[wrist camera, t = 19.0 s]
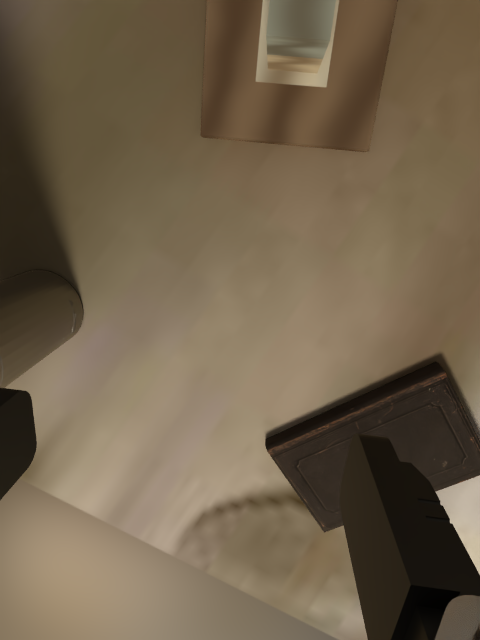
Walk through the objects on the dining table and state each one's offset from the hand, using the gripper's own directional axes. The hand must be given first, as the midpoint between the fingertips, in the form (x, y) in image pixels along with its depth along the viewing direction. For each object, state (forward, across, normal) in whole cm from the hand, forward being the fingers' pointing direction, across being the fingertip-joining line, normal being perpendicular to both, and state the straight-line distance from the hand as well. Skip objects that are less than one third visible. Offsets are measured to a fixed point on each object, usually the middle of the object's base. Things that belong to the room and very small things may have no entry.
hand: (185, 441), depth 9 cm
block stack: (+31, -2, -18) cm, 36 cm away
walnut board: (+33, -2, -18) cm, 38 cm away
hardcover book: (+34, -18, +24) cm, 45 cm away
